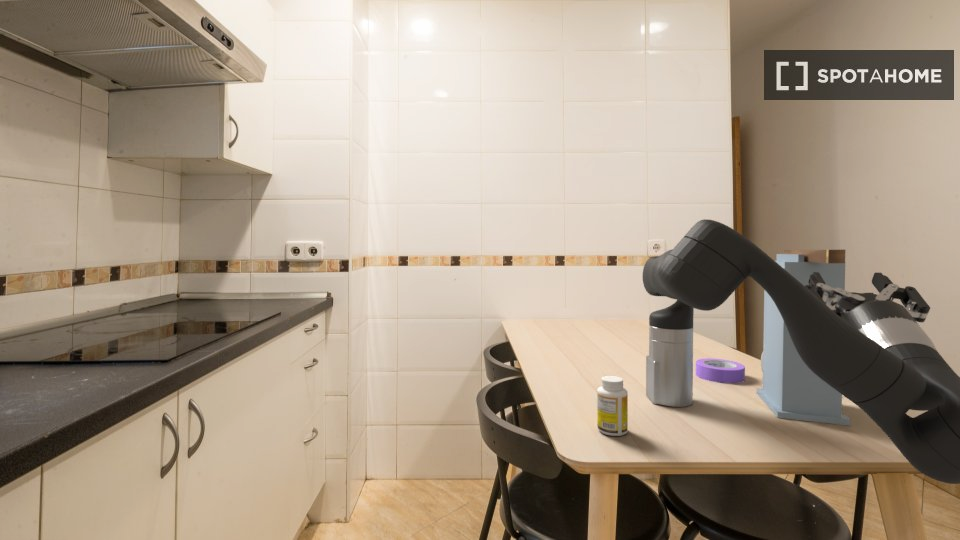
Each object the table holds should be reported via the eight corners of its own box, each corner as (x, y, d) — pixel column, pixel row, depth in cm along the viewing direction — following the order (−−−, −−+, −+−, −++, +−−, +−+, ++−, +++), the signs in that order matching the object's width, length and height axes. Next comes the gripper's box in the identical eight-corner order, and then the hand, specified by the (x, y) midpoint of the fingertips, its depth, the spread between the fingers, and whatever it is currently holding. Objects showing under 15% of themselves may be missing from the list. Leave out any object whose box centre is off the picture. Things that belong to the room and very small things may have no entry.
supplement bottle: (620, 424, 84) (620, 373, 84) (632, 436, 79) (633, 382, 78) (592, 426, 84) (592, 375, 83) (603, 438, 78) (603, 383, 78)
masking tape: (754, 384, 110) (754, 369, 110) (708, 384, 110) (709, 369, 110) (729, 371, 122) (729, 358, 121) (688, 371, 122) (688, 358, 122)
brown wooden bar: (828, 263, 76) (828, 249, 76) (783, 260, 98) (784, 250, 98) (845, 263, 75) (845, 249, 75) (796, 260, 97) (796, 249, 97)
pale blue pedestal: (777, 417, 87) (780, 254, 86) (756, 393, 102) (758, 254, 101) (849, 425, 83) (854, 254, 82) (816, 398, 98) (820, 253, 97)
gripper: (966, 321, 56) (904, 257, 68) (833, 316, 60) (798, 257, 73) (945, 363, 59) (889, 295, 72) (821, 355, 64) (790, 293, 77)
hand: (844, 276), depth 73 cm, fingers open, 8 cm apart
